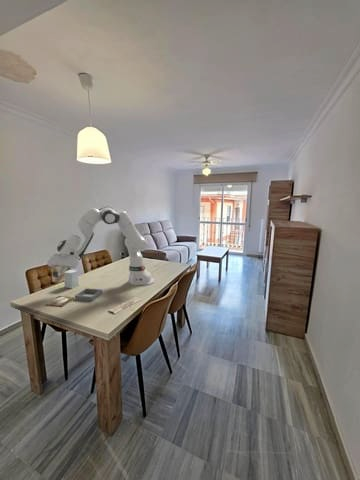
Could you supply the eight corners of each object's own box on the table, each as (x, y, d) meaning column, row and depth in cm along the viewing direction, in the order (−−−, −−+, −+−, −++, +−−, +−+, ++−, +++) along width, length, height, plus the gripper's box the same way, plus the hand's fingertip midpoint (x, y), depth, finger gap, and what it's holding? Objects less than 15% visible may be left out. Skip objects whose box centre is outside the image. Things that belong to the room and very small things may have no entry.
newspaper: (135, 298, 145) (135, 296, 144) (142, 300, 141) (142, 298, 141) (108, 312, 125) (108, 309, 125) (116, 315, 121) (115, 313, 121)
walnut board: (74, 298, 141) (74, 297, 141) (62, 306, 129) (62, 305, 129) (59, 296, 142) (58, 295, 142) (45, 304, 131) (45, 303, 131)
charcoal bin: (102, 293, 150) (102, 289, 149) (92, 301, 137) (92, 297, 137) (86, 291, 152) (86, 288, 151) (75, 299, 139) (74, 295, 139)
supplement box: (79, 285, 164) (78, 270, 162) (72, 288, 157) (71, 273, 155) (71, 284, 166) (70, 269, 164) (64, 287, 159) (63, 272, 157)
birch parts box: (64, 279, 135) (63, 265, 134) (59, 282, 130) (58, 267, 129) (58, 279, 136) (57, 265, 134) (52, 282, 131) (51, 267, 129)
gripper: (50, 251, 139) (40, 269, 131) (78, 253, 136) (69, 271, 128) (56, 256, 144) (46, 273, 136) (82, 258, 141) (74, 276, 133)
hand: (57, 272), depth 132 cm, fingers closed on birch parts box, 5 cm apart
